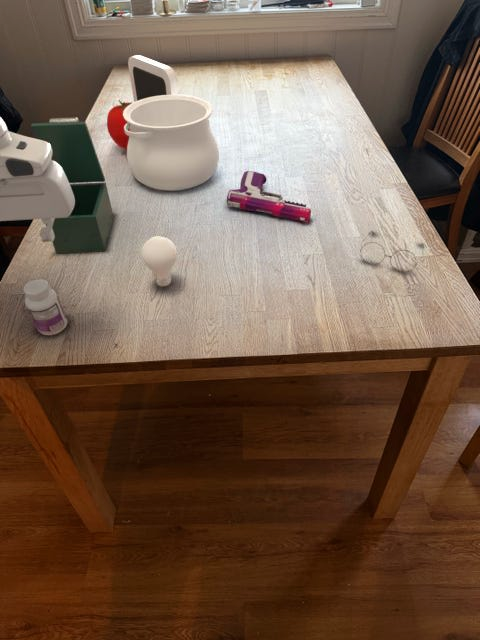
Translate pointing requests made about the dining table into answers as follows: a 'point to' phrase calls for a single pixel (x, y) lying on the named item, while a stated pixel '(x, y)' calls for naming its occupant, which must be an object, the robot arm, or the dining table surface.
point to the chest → (85, 220)
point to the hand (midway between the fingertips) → (18, 241)
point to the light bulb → (160, 258)
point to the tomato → (118, 125)
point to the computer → (151, 78)
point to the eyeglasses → (386, 255)
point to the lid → (71, 148)
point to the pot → (171, 141)
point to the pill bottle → (44, 307)
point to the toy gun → (264, 199)
